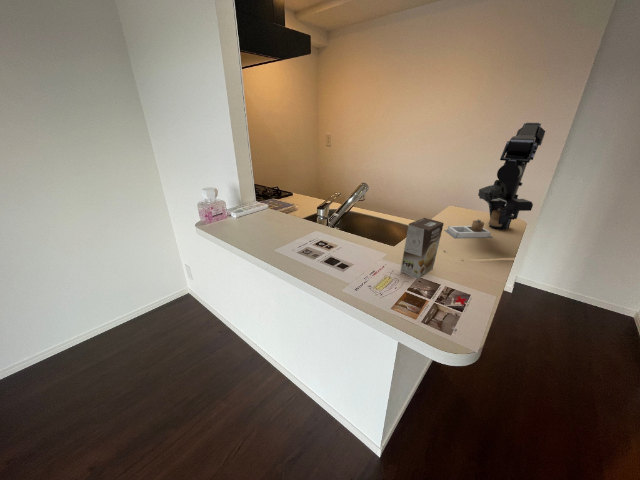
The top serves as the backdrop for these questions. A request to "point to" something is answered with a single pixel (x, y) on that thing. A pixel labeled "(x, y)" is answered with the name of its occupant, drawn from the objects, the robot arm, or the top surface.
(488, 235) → the housing
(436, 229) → the coffee box
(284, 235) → the top surface
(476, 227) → the brown housed cylinder
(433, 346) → the top surface
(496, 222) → the brown cylinder
